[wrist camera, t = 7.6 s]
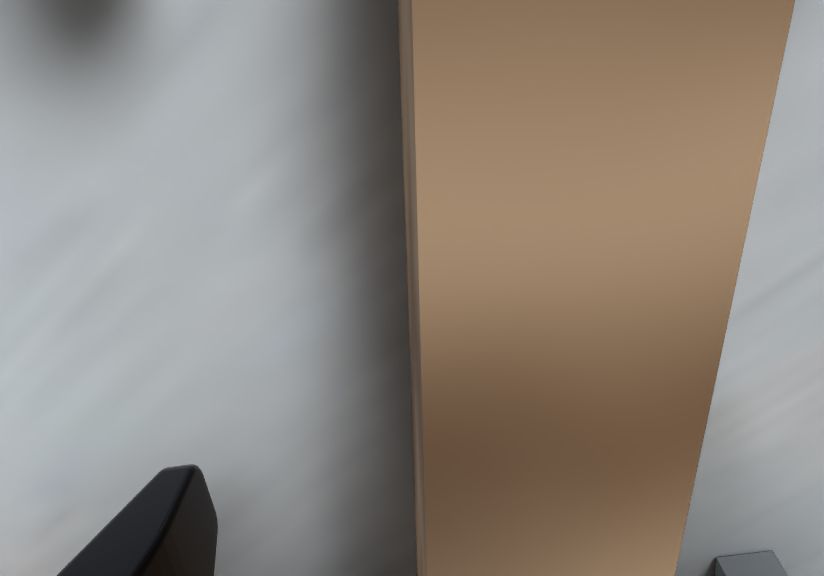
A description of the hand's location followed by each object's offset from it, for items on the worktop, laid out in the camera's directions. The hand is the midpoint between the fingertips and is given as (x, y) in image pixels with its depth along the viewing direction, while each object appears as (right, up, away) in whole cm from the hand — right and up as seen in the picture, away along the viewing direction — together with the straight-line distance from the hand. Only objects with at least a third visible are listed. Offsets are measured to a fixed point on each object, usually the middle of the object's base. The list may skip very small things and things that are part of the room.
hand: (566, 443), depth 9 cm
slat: (0, +2, +4) cm, 4 cm away
